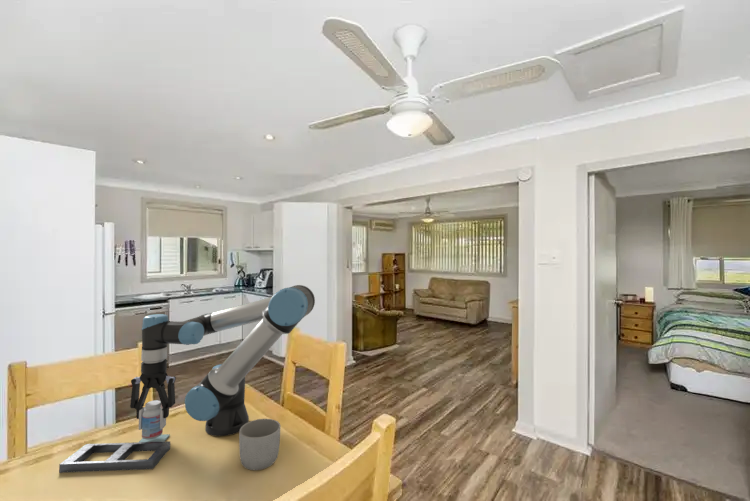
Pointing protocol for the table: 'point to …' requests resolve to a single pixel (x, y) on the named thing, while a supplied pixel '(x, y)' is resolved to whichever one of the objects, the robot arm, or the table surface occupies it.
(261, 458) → the planter
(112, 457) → the rack frame
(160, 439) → the coaster
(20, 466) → the table surface
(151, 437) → the pill bottle
